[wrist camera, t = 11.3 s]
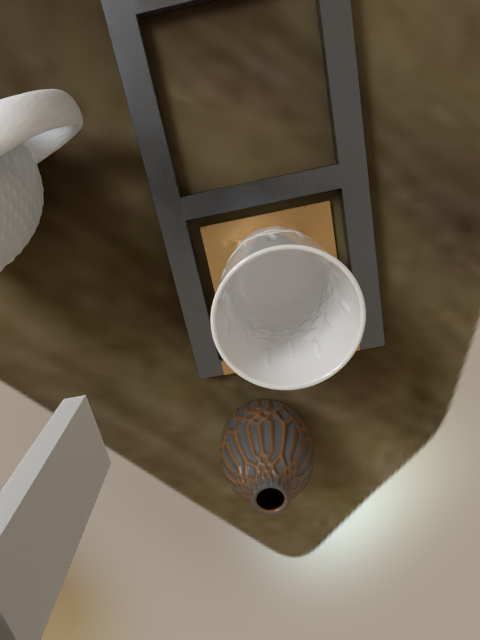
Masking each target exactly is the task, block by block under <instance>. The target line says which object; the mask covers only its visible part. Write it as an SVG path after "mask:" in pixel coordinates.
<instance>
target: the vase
mask: <svg viewBox="0 0 480 640" xmlns="http://www.w3.org/2000/svg"><path fill="white" fill-rule="evenodd" d="M313 459H314V450H313V443H312V439H311V436H310V433H309V430H308V428H307V426H306V424H305V422H304V421H303V419H302V418H301V417H300V416H299V414H298V413H297V412H296V411H295V410H293V409H292V408H291V407H289V406H288V405H286V404H284V403H282V402H280V401H276V400H272V399H259V400H254V401H251V402H248V403H246V404H244V405H243V406H241V407H240V408H239V409H237V410H236V411H235V412H234V413H233V414H232V416H231V417H230V418H229V420H228V421H227V423H226V425H225V427H224V429H223V432H222V436H221V441H220V463H221V467H222V470H223V473H224V476H225V478H226V480H227V482H228V484H229V485H230V486H231V488H232V489H233V490H234V492H235V493H236V494H238V495H239V496H240V497H241V498H243V499H244V500H246V501H247V502H249V503H251V504H252V505H253V507H254V508H255V509H256V510H257V511H259V512H260V513H263V514H267V515H273V514H277V513H280V512H282V511H283V510H284V509H285V508H286V507H287V506H288V504H289V502H290V500H292V499H293V498H294V497H296V496H297V495H298V494H299V493H300V492H301V491H302V489H303V488H304V487H305V485H306V483H307V481H308V479H309V477H310V474H311V471H312V466H313Z"/></svg>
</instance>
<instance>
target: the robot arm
mask: <svg viewBox="0 0 480 640" xmlns="http://www.w3.org/2000/svg"><path fill="white" fill-rule="evenodd" d="M110 464H111V461H110V459H109V456H108V453H107V451H106V448H105V445H104V443H103V440H102V437H101V435H100V432H99V429H98V427H97V424H96V421H95V419H94V416H93V413H92V410H91V408H90V405H89V402H88V400H87V397H86V395H83V396H78V397H73V398H67V399H63V401H62V402H61V404H60V405H59V406H58V408H57V409H56V411H55V412H54V414H53V415H52V417H51V418H50V420H49V421H48V423H47V424H46V426H45V427H44V429H43V430H42V431H41V433H40V434H39V436H38V437H37V439H36V440H35V441H34V443H33V444H32V446H31V447H30V449H29V450H28V452H27V453H26V455H25V456H24V458H23V459H22V460H21V462H20V463H19V465H18V466H17V468H16V469H15V471H14V472H13V474H12V475H11V477H10V478H9V480H8V481H7V482H6V484H5V485H4V487H3V488H2V490H1V491H0V640H41V637H42V635H43V632H44V630H45V627H46V625H47V622H48V620H49V617H50V615H51V612H52V609H53V607H54V605H55V602H56V600H57V597H58V594H59V592H60V590H61V587H62V585H63V582H64V579H65V577H66V574H67V572H68V569H69V567H70V564H71V562H72V559H73V557H74V554H75V552H76V549H77V547H78V544H79V541H80V539H81V537H82V534H83V532H84V529H85V527H86V524H87V522H88V519H89V517H90V514H91V512H92V509H93V507H94V504H95V502H96V499H97V497H98V494H99V491H100V489H101V486H102V484H103V481H104V479H105V476H106V474H107V471H108V469H109V466H110Z"/></svg>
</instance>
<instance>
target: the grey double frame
mask: <svg viewBox="0 0 480 640" xmlns="http://www.w3.org/2000/svg"><path fill="white" fill-rule="evenodd" d="M211 1H216V0H101V2H102V6H103V10H104V14H105V18H106V22H107V25H108V29H109V33H110V37H111V41H112V44H113V48H114V52H115V56H116V60H117V64H118V67H119V71H120V75H121V79H122V83H123V87H124V90H125V94H126V98H127V102H128V106H129V109H130V113H131V117H132V121H133V125H134V129H135V132H136V136H137V140H138V144H139V148H140V152H141V155H142V159H143V163H144V167H145V171H146V174H147V178H148V182H149V186H150V190H151V194H152V197H153V201H154V205H155V209H156V213H157V217H158V220H159V224H160V228H161V232H162V236H163V239H164V243H165V247H166V251H167V255H168V259H169V262H170V266H171V270H172V274H173V278H174V282H175V285H176V289H177V293H178V297H179V301H180V304H181V308H182V312H183V316H184V320H185V324H186V327H187V331H188V335H189V339H190V343H191V347H192V350H193V354H194V358H195V362H196V366H197V369H198V373H199V377H200V379H203V378H209V377H214V376H220V375H227V374H233V373H235V372H234V371H233V370H232V369H231V368H230V367H229V366H228V365H227V364H226V362H225V361H224V360H223V358H222V357H221V355H220V354H219V352H218V350H217V348H216V346H215V343H214V340H213V336H212V332H211V323H210V313H209V308H208V304H207V300H206V296H205V292H204V288H203V283H202V279H201V275H200V271H199V267H198V262H197V258H196V254H195V250H194V246H193V242H192V237H191V233H190V229H189V225H188V221H187V220H190V219H195V218H200V217H205V216H210V215H214V214H219V213H224V212H229V211H234V210H238V209H243V208H248V207H253V206H258V205H263V204H267V203H272V202H277V201H282V200H287V199H292V198H296V197H301V196H306V195H311V194H316V193H320V192H325V191H330V190H335V189H339V193H340V201H341V209H342V217H343V225H344V233H345V242H346V250H347V258H348V266H349V271H350V272H351V273H352V274H353V276H354V277H355V279H356V280H357V282H358V284H359V286H360V288H361V291H362V294H363V297H364V301H365V307H366V322H365V329H364V333H363V336H362V339H361V342H360V344H359V346H358V348H357V350H356V351H359V350H363V349H368V348H374V347H379V346H385V339H384V329H383V319H382V309H381V299H380V289H379V279H378V269H377V260H376V250H375V240H374V230H373V220H372V210H371V200H370V190H369V180H368V170H367V160H366V150H365V140H364V130H363V120H362V110H361V100H360V90H359V80H358V70H357V60H356V50H355V40H354V30H353V20H352V10H351V0H316V5H317V13H318V21H319V30H320V38H321V46H322V54H323V62H324V70H325V78H326V87H327V95H328V103H329V111H330V119H331V127H332V136H333V144H334V152H335V160H336V164H333V165H328V166H323V167H318V168H314V169H309V170H304V171H300V172H295V173H290V174H285V175H281V176H276V177H271V178H266V179H262V180H257V181H252V182H247V183H243V184H238V185H233V186H228V187H224V188H219V189H214V190H210V191H205V192H200V193H195V194H191V195H186V196H181V192H180V187H179V183H178V179H177V175H176V171H175V167H174V162H173V158H172V154H171V150H170V146H169V142H168V137H167V133H166V129H165V125H164V121H163V117H162V112H161V108H160V104H159V100H158V96H157V91H156V87H155V83H154V79H153V75H152V71H151V66H150V62H149V58H148V54H147V50H146V46H145V41H144V37H143V33H142V29H141V25H140V21H139V19H141V18H145V17H149V16H153V15H157V14H162V13H166V12H170V11H174V10H178V9H182V8H186V7H191V6H195V5H199V4H203V3H207V2H211ZM276 225H279V226H283V227H287V228H291V229H295V230H298V231H300V232H301V233H302V234H304V235H306V236H308V237H310V238H311V239H313V240H314V241H315V242H317V243H318V244H320V245H321V246H323V247H324V248H325V249H326V250H327V251H328V252H329V253H330V254H332V255H333V256H334V257H335V258H337V253H336V245H335V237H334V230H333V222H332V214H331V207H330V201H324V202H319V203H314V204H310V205H305V206H300V207H295V208H290V209H285V210H280V211H276V212H271V213H266V214H261V215H256V216H251V217H246V218H241V219H237V220H232V221H227V222H222V223H217V224H212V225H207V226H203V227H200V230H201V235H202V239H203V243H204V248H205V252H206V256H207V261H208V265H209V269H210V274H211V278H212V282H213V287H214V291H215V294H216V291H217V288H218V285H219V282H220V279H221V276H222V273H223V271H224V269H225V266H226V264H227V262H228V260H229V258H230V256H231V255H232V253H233V252H234V250H235V248H236V246H237V244H238V243H239V242H240V241H241V240H243V239H244V238H245V237H247V236H248V235H249V234H251V233H252V232H253V231H255V230H256V229H261V228H266V227H271V226H276Z"/></svg>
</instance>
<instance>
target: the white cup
mask: <svg viewBox="0 0 480 640" xmlns="http://www.w3.org/2000/svg"><path fill="white" fill-rule="evenodd" d="M365 322H366V307H365V301H364V297H363V294H362V291H361V288H360V286H359V284H358V282H357V280H356V279H355V277H354V276H353V274H352V273H351V272H350V271H349V269H348V268H347V267H346V266H345V265H344V264H343V263H341V262H340V261H339V260H338V259H337V258H335V257H334V256H333V255H332V254H330V253H329V252H328V251H327V250H326V249H325V248H324V247H323V246H321V245H320V244H318V243H317V242H315V241H314V240H313V239H311V238H310V237H308V236H306V235H304V234H302V233H301V232H300V231H298V230H295V229H291V228H287V227H283V226H279V225H276V226H271V227H266V228H261V229H256V230H255V231H253V232H252V233H251V234H249V235H248V236H247V237H245V238H244V239H243V240H241V241H240V242H239V243H238V244H237V246H236V248H235V250H234V252H233V253H232V255H231V256H230V258H229V260H228V262H227V264H226V266H225V269H224V271H223V273H222V276H221V279H220V282H219V285H218V288H217V291H216V294H215V296H214V299H213V303H212V308H211V317H210V323H211V332H212V336H213V340H214V343H215V346H216V348H217V350H218V352H219V354H220V355H221V357H222V358H223V360H224V361H225V362H226V364H227V365H228V366H229V367H230V368H231V369H232V370H233V371H234V372H235V373H237V374H238V375H239V376H241V377H242V378H244V379H245V380H247V381H249V382H251V383H253V384H256V385H258V386H261V387H265V388H269V389H275V390H296V389H302V388H307V387H310V386H313V385H316V384H318V383H321V382H323V381H325V380H326V379H328V378H330V377H331V376H333V375H334V374H336V373H337V372H338V371H339V370H340V369H342V368H343V367H344V366H345V365H346V364H347V362H348V361H349V360H350V359H351V358H352V356H353V355H354V353H355V352H356V350H357V348H358V346H359V344H360V342H361V339H362V336H363V333H364V329H365Z"/></svg>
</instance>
